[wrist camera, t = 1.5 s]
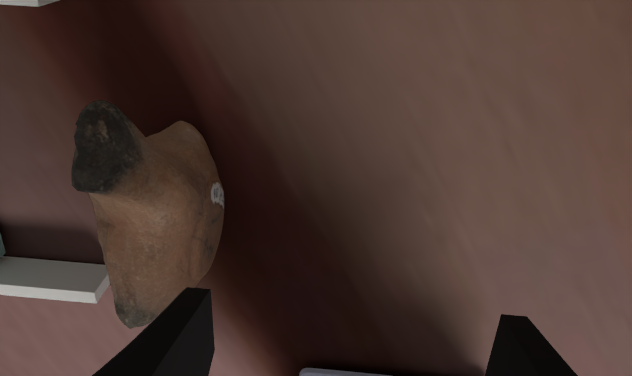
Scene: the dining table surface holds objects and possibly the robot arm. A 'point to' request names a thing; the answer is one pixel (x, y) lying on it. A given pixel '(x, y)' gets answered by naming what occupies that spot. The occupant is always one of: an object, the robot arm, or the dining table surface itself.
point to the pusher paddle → (1, 247)
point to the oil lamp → (148, 207)
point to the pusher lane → (51, 261)
